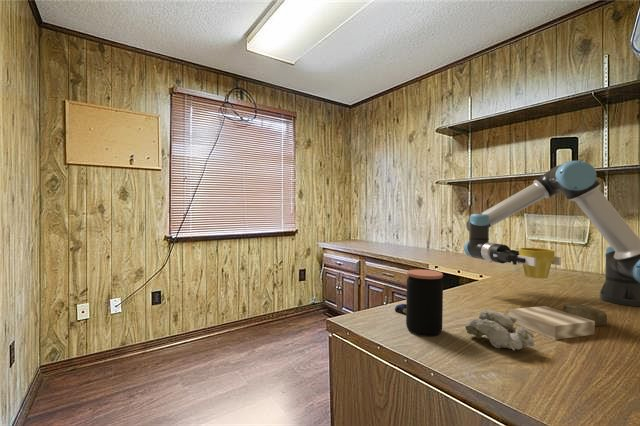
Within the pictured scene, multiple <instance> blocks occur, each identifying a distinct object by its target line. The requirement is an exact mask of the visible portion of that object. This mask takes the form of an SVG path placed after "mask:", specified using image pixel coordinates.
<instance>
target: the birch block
mask: <svg viewBox="0 0 640 426" xmlns="http://www.w3.org/2000/svg"><path fill="white" fill-rule="evenodd" d="M508 316H509V317H513V318H516V319H517V321H516V322H515V323H513V325H517V326H520V327H523V328H525V329H526V330H528V331H532V332H534V333H537V334H540V335H541V336H545V337H546V338H550V339H552V340H554V341H555V340H563V339H569V338H571V339H572V338H577V337H578V338H579V337H585V336H591V335H592V336H593V335H595V331H596V330H595V327H596V326H595V321H592V320H589V319H586V318H582V317H579V316H576V315H573V314H569V313H566V312H563V310H560V309H556V308H553V307H549V306H548V305H547V306H546V305H542V306H541V305H539V306H532V307H521V308H512V309H511V308H509V309H508Z"/></svg>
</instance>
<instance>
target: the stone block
mask: <svg viewBox="0 0 640 426" xmlns="http://www.w3.org/2000/svg"><path fill="white" fill-rule="evenodd" d="M562 311H563V312H566V313H569V314H573V315H576V316H579V317H582V318H586V319H589V320H592V321H595V327H603V326H606V325H607V324H608V314H607V313H606V312H605V311H604V310H601V309H597V308H594V307H590V306H587V305H582V304H578V303H576V302H575V303H573V302H570V303H563V307H562Z"/></svg>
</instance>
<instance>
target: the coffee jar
mask: <svg viewBox="0 0 640 426" xmlns="http://www.w3.org/2000/svg"><path fill="white" fill-rule="evenodd" d="M406 273H407V274H406V275H407V278H406V299H405V300H406V303H405V304H406V315H405V316H406V317H405V319H406V320H405V322H406V323H405V325H406V327H407V329H408V331H409V332H410V333H412V334H414V335H417V336H423V337H435V336H439V335H440V334H441V333H442V330H443V317H444V315H443V310H444V308H443V307H444V305H443V304H444V298H443V297H444V296H443V295H444V283H443V280H442V279H443V278H444V273H442V272H441V271H437V270H432V269H421V268H420V269H408V270H407V271H406Z"/></svg>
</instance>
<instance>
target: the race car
mask: <svg viewBox="0 0 640 426" xmlns="http://www.w3.org/2000/svg"><path fill="white" fill-rule="evenodd" d="M394 311H396V312H397V314H403V315H405V316H406V303H400V304H397V305H396V306H395V307H394Z"/></svg>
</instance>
